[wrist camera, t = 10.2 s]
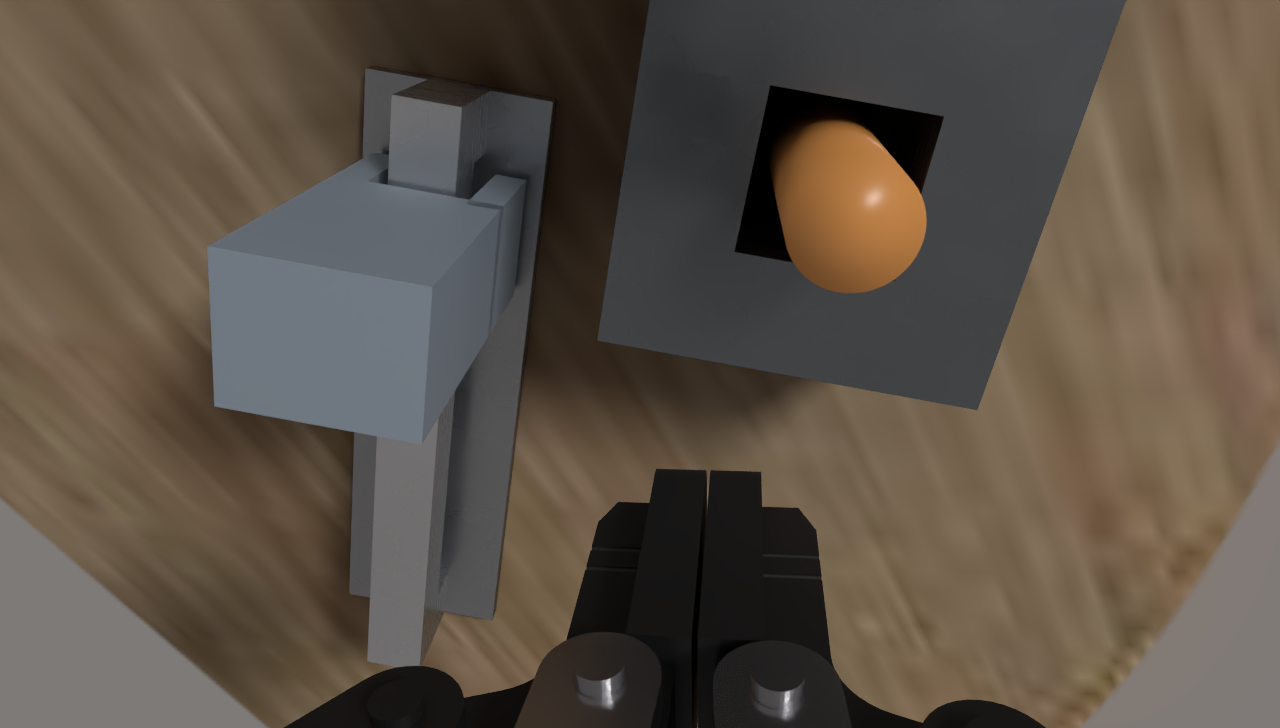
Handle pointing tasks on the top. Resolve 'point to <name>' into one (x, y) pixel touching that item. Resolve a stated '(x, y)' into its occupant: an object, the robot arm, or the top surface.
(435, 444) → the rail
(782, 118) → the orange peg
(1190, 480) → the top surface
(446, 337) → the block
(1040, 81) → the block with square hole
